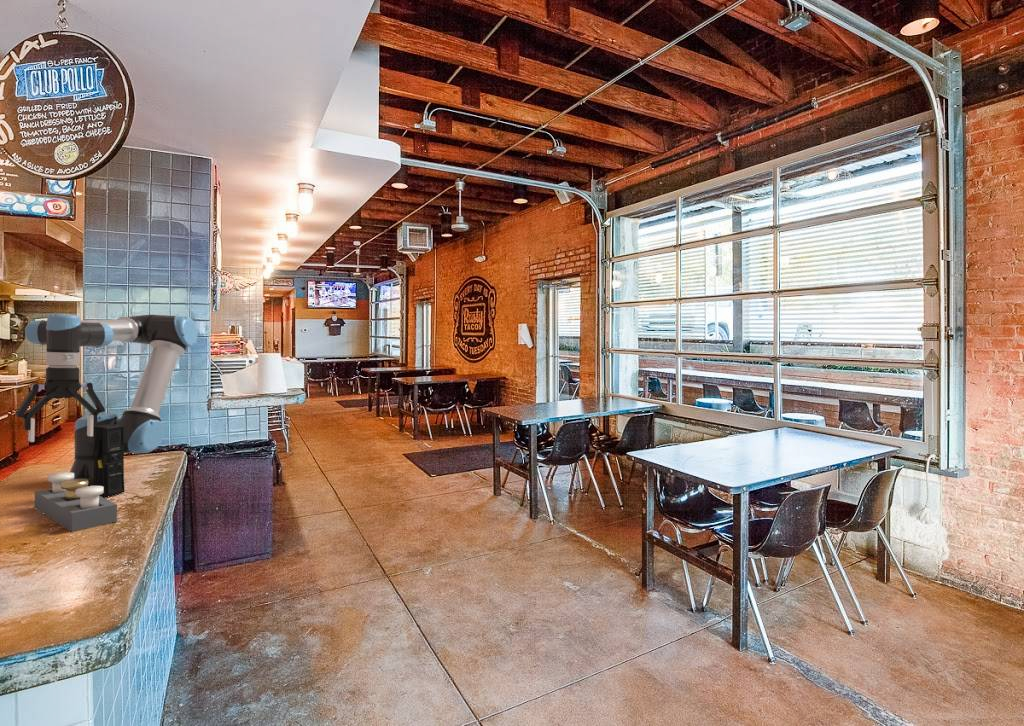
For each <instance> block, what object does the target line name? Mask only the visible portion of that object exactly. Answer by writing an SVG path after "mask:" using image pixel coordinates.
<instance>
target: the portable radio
mask: <svg viewBox="0 0 1024 726" xmlns="http://www.w3.org/2000/svg"><path fill="white" fill-rule="evenodd" d="M93 435H94V455H93V457H94V485H92V486H103V487H104V493H103V494H101V495H99V496H101V497H107V498H109V497H108V496H110V497H113V496H112V495H114V496H116V495H115V494H117V495H119V494H118V493H121V494H123V493H122V492H124V493H125V469H124V468H125V465H124V463H125V462H124V461H125V456H124V453H125V452H124V425H123V424H117V422H116V417H115V422H114V424H108V425H101V426H94V427H93Z"/></svg>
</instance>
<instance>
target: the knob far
mask: <svg viewBox="0 0 1024 726" xmlns="http://www.w3.org/2000/svg"><path fill="white" fill-rule="evenodd" d="M103 493H104V487H103V486H93V485H90V486H87V487H82V488H78V489H76V497H80V509H82V510H83V509H88V508H93V507H98V506H99V495H101V494H103Z"/></svg>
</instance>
